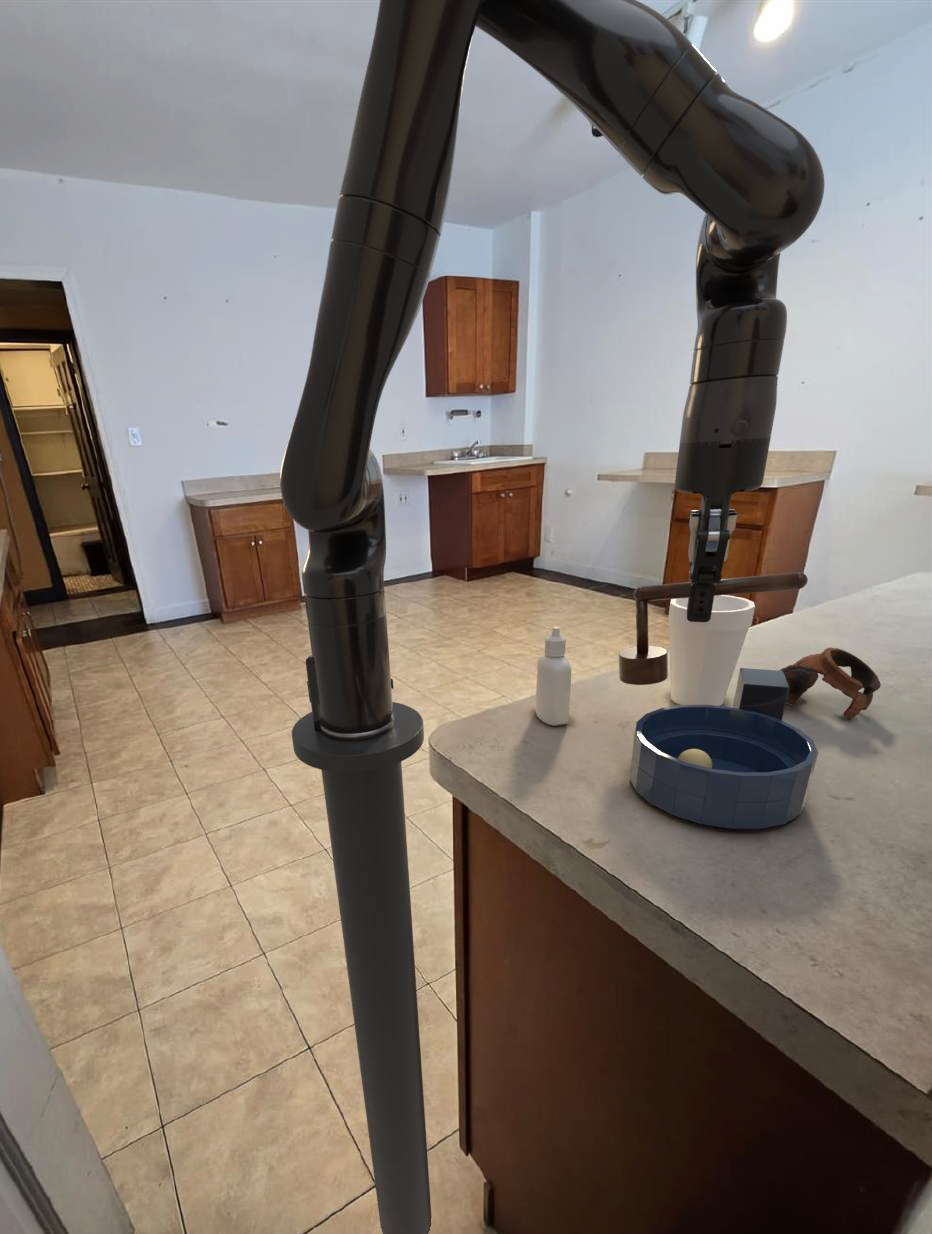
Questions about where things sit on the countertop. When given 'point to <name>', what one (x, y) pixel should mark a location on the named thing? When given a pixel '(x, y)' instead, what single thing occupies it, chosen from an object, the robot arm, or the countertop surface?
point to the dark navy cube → (762, 692)
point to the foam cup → (706, 649)
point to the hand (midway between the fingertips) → (697, 617)
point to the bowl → (723, 766)
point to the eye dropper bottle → (553, 681)
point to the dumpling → (696, 758)
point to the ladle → (651, 660)
